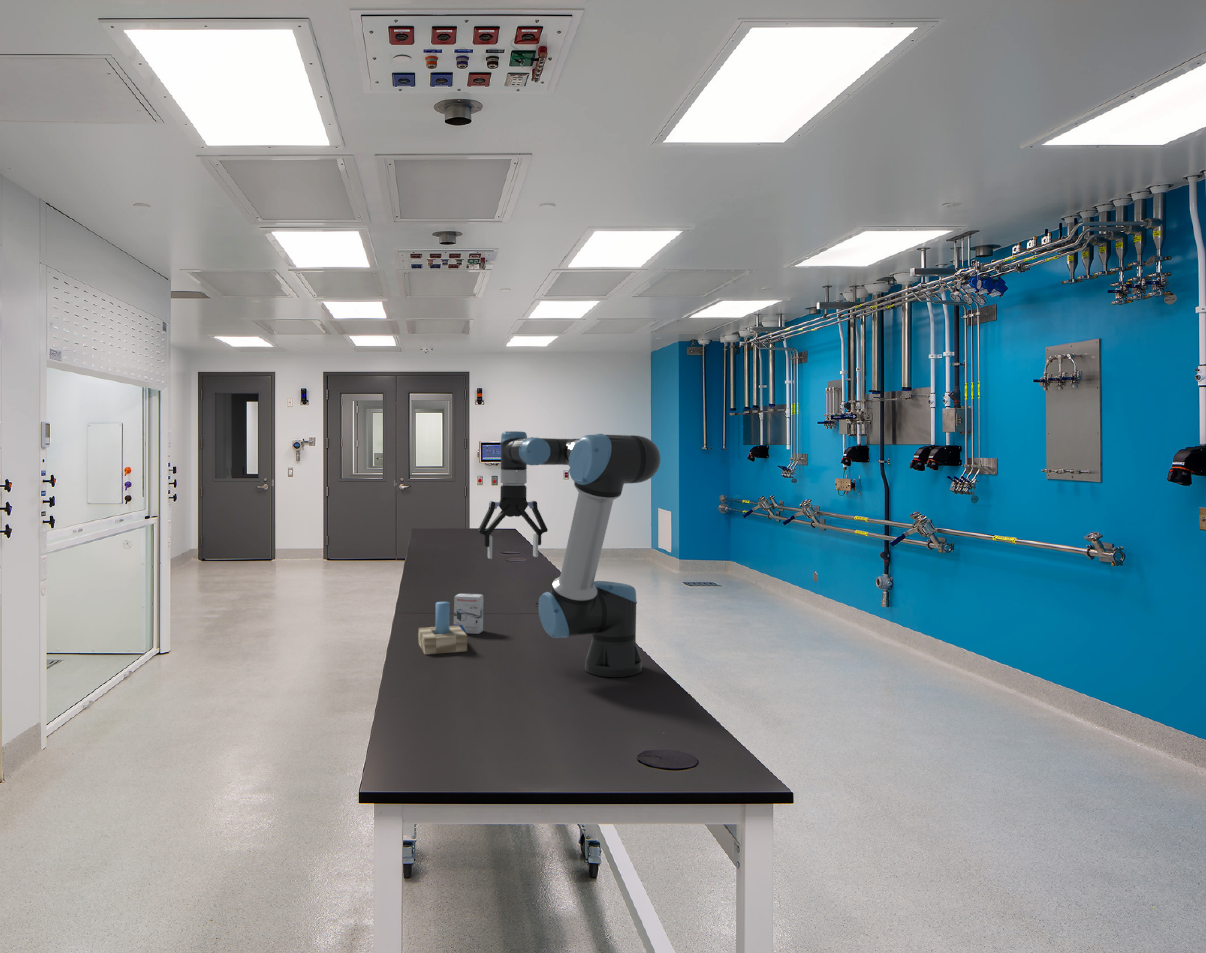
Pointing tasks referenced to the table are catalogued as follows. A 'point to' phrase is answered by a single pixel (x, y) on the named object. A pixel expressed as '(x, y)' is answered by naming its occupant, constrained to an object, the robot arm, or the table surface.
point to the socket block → (442, 640)
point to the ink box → (469, 612)
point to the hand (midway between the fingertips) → (512, 557)
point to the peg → (442, 618)
